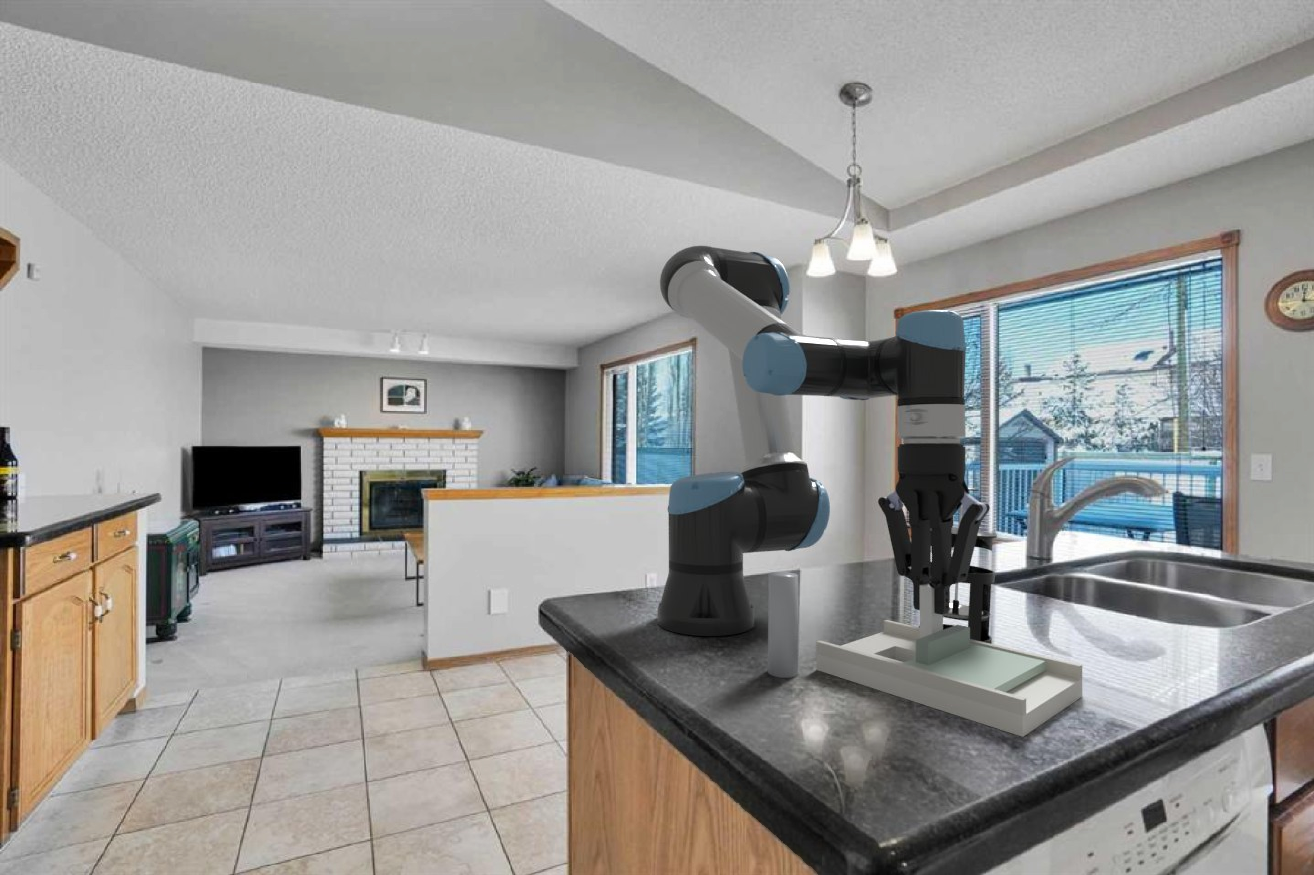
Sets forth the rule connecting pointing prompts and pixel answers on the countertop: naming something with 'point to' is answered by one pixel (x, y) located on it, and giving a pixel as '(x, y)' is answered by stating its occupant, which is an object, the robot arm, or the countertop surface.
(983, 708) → the housing
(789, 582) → the pin
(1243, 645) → the countertop surface
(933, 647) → the lid
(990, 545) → the french press
